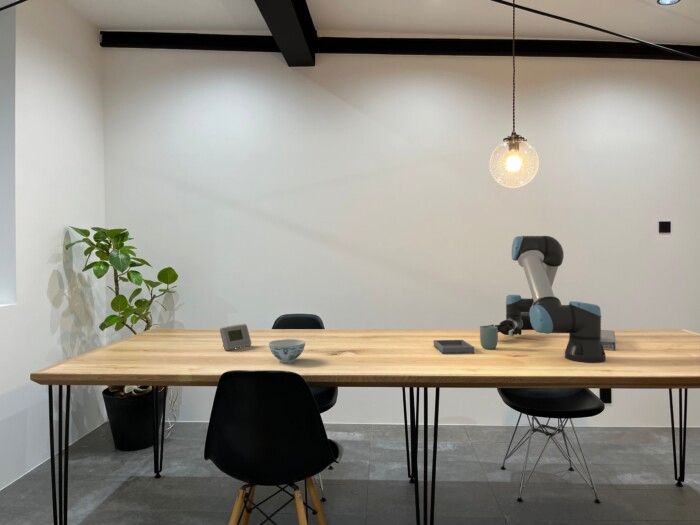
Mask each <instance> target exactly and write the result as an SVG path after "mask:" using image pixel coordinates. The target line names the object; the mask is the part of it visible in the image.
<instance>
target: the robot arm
mask: <svg viewBox="0 0 700 525" xmlns="http://www.w3.org/2000/svg"><path fill="white" fill-rule="evenodd" d="M511 245H512V246H511V260H513V261H515V262H517V263H518V265H519V266H520V267H522V268H523V271H524V274H525V278H526V280H527V284H528V287H529V290H530V293H531V297H532V298H522V296H521V295H520V294H508V295H507V296H506V298H505V314H506V315H505V319H504V320H502V321H500V323H499V324H490V325H487V326H496V327H498V333H501V334H502V335H504V336H508V337H509V338H512V337H513V336H515V335H516V336H517V335H518V336H522V328H523V327H524V323H523V319H522V314H524V313H525V314H527V313H528V314H529V321H530V325H531V327H532V329H533V330H534V331H535V332H537V333H539V334H546V335H549V334H550V335H551V334H568V335H569V337H568V338H569V339H568V342H567V344H566V347H565V350H564V358H565V359H567V360H570V361H573V362H574V361H575V362H582V363H602V362H605V361H607V360H606V358H607V356H606V352H605V350H604V349H603V346H602V343H601V330H602V323H601V322H602V312H601V307H600V306H599V305H598V304H594V303H587V302H582V301H581V302H580V301H571V300H570V301H569V303H568V304H562V303H561V300H560V299H559V298H558V297H556V296H555V294H554V292H553V289H552V288H553V285H554V281H555V278H556V274H557V273H558V269H559V267H561V266H562V264H563V262H564V248H563V247H562V245H561V243H560V241H558V239H556V238H555V237H552V236H550V235H520V236H519V235H518V236H515V237H514V238H513V240H512V244H511ZM481 326H482V325H480V326H479V328H480V327H481Z"/></svg>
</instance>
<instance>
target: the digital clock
mask: <svg viewBox="0 0 700 525" xmlns="http://www.w3.org/2000/svg"><path fill="white" fill-rule="evenodd" d="M219 333H220V337H221V342H222V348H223V347H224V349H223V350H224V351H226V350H227V351H231V350H230V349H234V350H236V349H235V348H239V349H241V348H240V347H244V346H246V347H249V345H250V346H251V345H252V341H251V340H252V339H251V336H250V332H249V328H248V326H247V324H246V323H242V324H234V325H233V324H232V325H228V326H224V327H220V329H219ZM244 348H245V347H244Z"/></svg>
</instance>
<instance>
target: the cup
mask: <svg viewBox="0 0 700 525" xmlns="http://www.w3.org/2000/svg"><path fill="white" fill-rule="evenodd" d="M480 326H481V327H480ZM480 326H479V340H480V345H481V348H483V349H485V350H494V349H496V348H497V345H498V341H499V340H498V339H499V336H498V335H499V332H498V327H496V326H495V325H494V326H488V325H480Z"/></svg>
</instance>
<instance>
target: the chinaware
mask: <svg viewBox="0 0 700 525" xmlns="http://www.w3.org/2000/svg"><path fill="white" fill-rule="evenodd" d="M268 346H269V347H268V348H269V349H270V352H271V354H272V355H273V356H274V357H275V358H276V359H277V360H278V362H279V363H281V364H287V362H290V363H294V362H296V359H298V358H299V357H300V356H301V355H302V353H303V352H304V349H305V346H306V340H302V339H295V338H294V339H293V338H290V339H289V338H287V339H277V340H276V339H275V340H272V341H270V342H268Z"/></svg>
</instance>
